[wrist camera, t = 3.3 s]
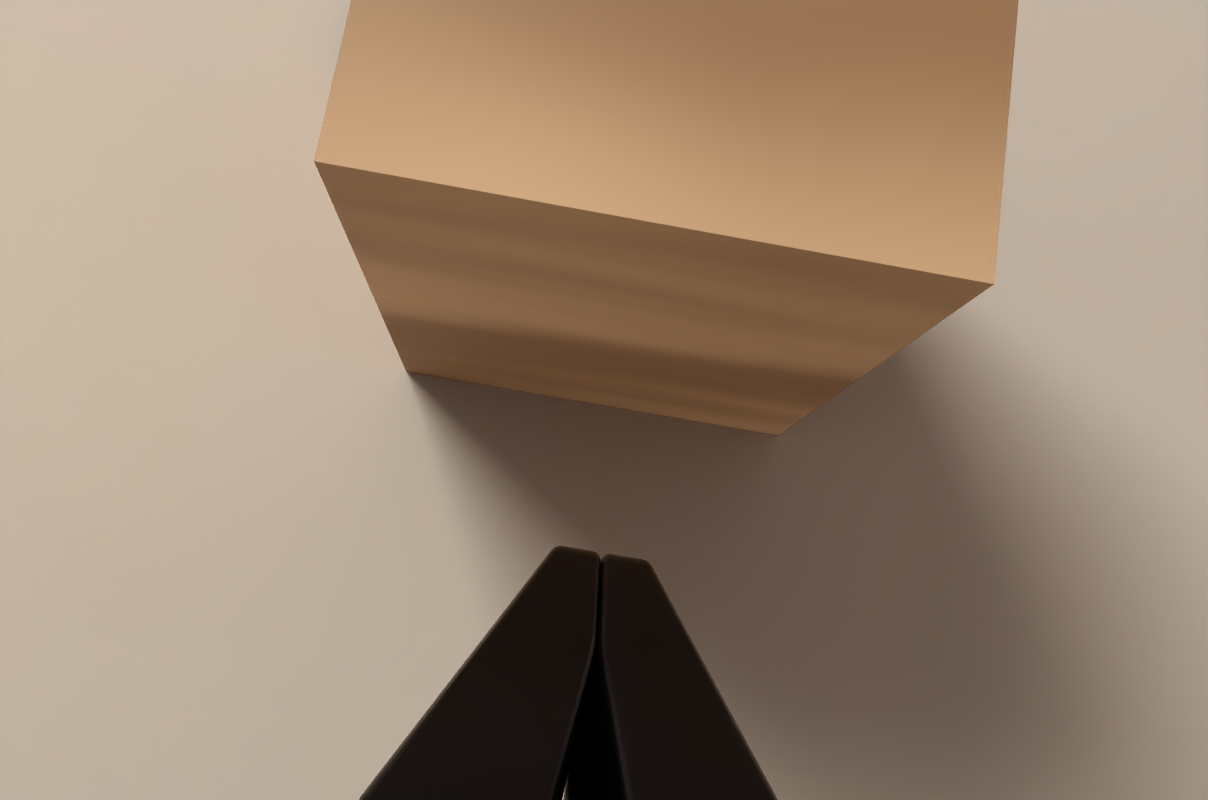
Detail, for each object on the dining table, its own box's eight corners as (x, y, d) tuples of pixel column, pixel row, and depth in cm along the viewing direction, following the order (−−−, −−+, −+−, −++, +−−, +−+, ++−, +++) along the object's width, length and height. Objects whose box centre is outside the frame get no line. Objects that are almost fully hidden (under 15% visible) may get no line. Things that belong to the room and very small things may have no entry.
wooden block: (777, 435, 17) (993, 284, 9) (406, 371, 17) (314, 161, 9) (810, 177, 18) (1030, -155, 10) (459, 112, 18) (415, -278, 10)
